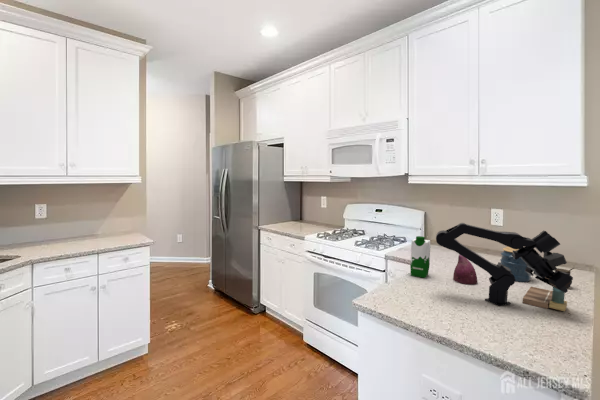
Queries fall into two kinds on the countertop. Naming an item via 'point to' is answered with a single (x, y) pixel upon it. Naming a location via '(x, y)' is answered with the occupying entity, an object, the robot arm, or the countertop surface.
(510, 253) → the canister
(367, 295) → the countertop surface
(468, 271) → the vegetable
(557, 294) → the teal column with base
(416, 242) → the milk carton
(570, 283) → the mate gourd
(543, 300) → the board
